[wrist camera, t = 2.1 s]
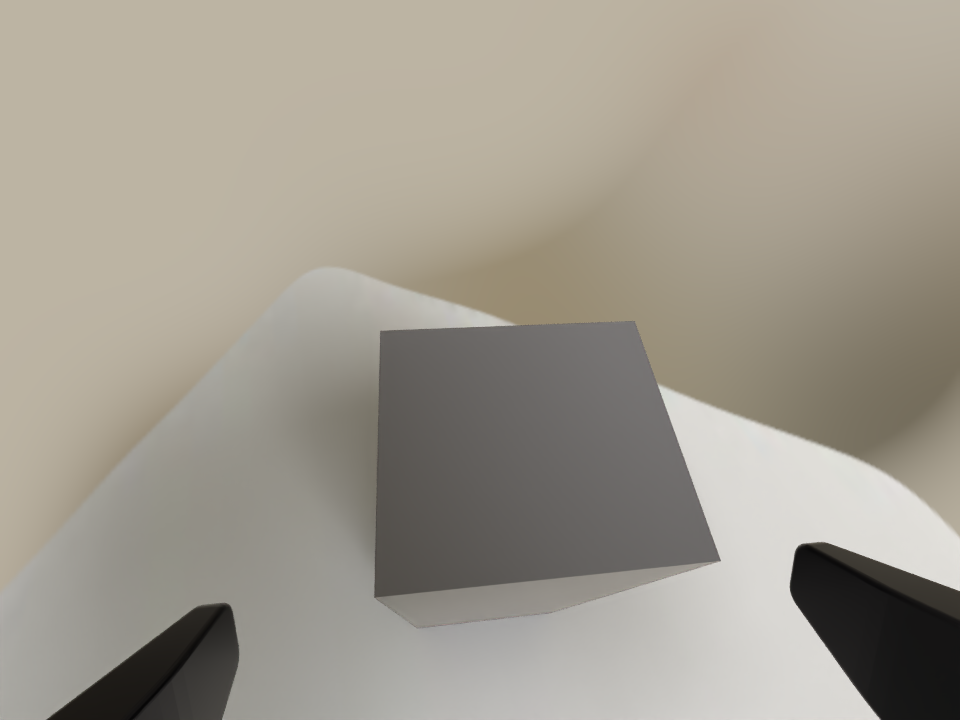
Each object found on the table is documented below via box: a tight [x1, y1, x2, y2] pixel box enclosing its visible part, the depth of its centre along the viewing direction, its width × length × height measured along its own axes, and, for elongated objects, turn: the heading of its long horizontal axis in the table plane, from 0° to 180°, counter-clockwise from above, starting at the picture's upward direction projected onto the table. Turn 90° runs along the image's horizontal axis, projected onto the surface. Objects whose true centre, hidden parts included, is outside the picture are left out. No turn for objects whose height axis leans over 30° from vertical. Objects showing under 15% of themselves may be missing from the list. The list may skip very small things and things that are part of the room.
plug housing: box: [374, 321, 721, 628], centre depth 11 cm, size 4×4×11 cm
